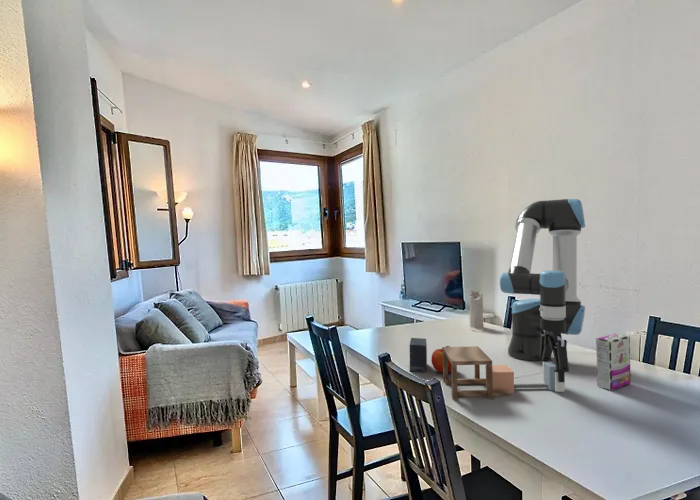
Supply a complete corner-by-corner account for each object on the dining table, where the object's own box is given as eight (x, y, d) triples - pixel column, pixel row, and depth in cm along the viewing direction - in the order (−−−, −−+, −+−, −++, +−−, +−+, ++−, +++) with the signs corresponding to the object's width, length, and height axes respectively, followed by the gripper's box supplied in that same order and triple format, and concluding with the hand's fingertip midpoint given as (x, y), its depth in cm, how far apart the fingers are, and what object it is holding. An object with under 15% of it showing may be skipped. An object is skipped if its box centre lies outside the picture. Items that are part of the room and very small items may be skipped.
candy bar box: (615, 380, 141) (615, 332, 140) (631, 384, 137) (631, 336, 136) (595, 386, 136) (595, 337, 135) (611, 391, 132) (611, 341, 131)
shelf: (495, 380, 144) (494, 346, 144) (511, 398, 128) (510, 360, 128) (443, 381, 145) (442, 347, 144) (453, 399, 129) (452, 361, 128)
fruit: (440, 365, 162) (439, 340, 161) (462, 370, 155) (461, 344, 154) (426, 372, 155) (425, 345, 154) (448, 377, 148) (447, 350, 148)
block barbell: (554, 384, 139) (554, 361, 139) (564, 392, 132) (564, 368, 132) (485, 385, 140) (485, 362, 139) (492, 393, 133) (491, 369, 132)
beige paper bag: (472, 332, 212) (471, 293, 211) (469, 325, 226) (468, 289, 225) (486, 332, 211) (486, 293, 210) (482, 326, 225) (482, 289, 224)
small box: (426, 372, 154) (426, 345, 154) (409, 371, 156) (408, 344, 155) (427, 363, 165) (426, 337, 164) (411, 363, 166) (410, 337, 166)
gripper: (528, 311, 145) (529, 374, 146) (556, 325, 124) (556, 398, 125) (549, 311, 145) (550, 374, 146) (581, 325, 124) (581, 398, 125)
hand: (553, 385), depth 136 cm, fingers open, 8 cm apart
